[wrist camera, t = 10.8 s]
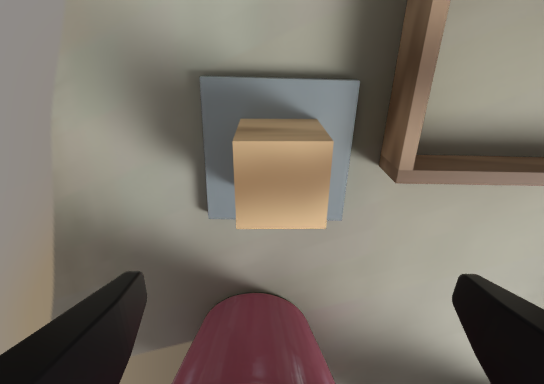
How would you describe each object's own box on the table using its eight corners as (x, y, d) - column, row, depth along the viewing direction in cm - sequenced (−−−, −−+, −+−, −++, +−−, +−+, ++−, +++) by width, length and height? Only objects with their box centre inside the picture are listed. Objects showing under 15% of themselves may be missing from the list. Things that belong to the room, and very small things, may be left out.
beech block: (312, 188, 20) (325, 228, 16) (242, 188, 20) (236, 229, 16) (316, 118, 19) (333, 141, 14) (240, 118, 19) (232, 141, 14)
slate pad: (339, 215, 22) (341, 220, 21) (210, 213, 22) (208, 218, 21) (356, 79, 19) (360, 80, 18) (202, 75, 18) (199, 76, 18)
